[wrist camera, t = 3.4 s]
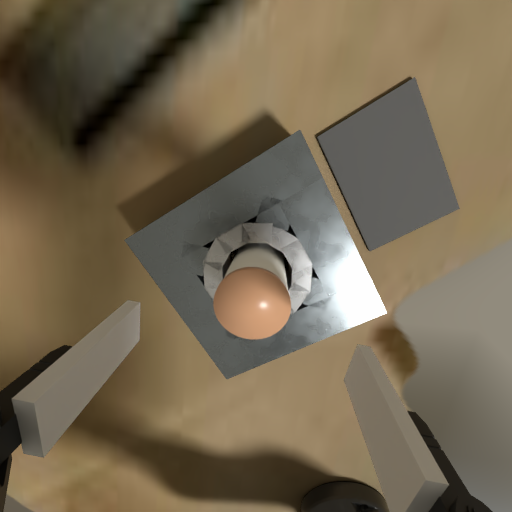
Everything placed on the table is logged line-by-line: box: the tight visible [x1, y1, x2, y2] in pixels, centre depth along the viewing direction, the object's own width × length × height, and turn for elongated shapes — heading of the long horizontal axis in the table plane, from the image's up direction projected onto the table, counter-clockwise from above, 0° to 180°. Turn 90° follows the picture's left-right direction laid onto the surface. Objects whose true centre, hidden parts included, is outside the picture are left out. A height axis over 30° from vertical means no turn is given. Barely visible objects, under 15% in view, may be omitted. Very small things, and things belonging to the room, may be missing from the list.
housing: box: [125, 130, 387, 379], centre depth 27 cm, size 20×20×5 cm
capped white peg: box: [213, 243, 291, 339], centre depth 24 cm, size 6×6×11 cm
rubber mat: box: [317, 77, 459, 251], centre depth 25 cm, size 14×10×1 cm
